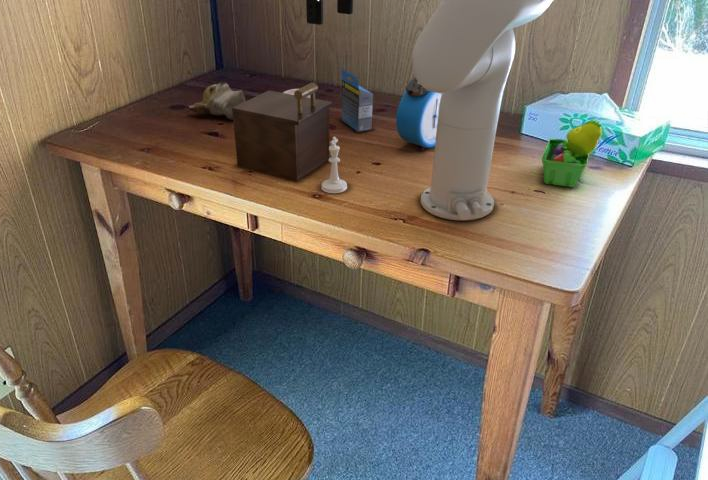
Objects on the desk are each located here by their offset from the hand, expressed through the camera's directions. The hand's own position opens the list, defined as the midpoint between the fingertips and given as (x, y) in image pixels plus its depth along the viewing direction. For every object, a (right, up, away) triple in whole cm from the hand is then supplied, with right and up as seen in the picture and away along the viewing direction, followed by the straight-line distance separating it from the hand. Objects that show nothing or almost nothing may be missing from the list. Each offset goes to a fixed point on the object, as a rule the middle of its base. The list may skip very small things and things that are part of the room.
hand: (330, 18), depth 112 cm
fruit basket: (+45, -29, +4) cm, 53 cm away
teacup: (-6, -10, +34) cm, 36 cm away
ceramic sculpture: (-25, -8, +39) cm, 47 cm away
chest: (-9, -24, +14) cm, 29 cm away
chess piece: (+1, -31, +4) cm, 31 cm away
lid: (-9, -15, +7) cm, 19 cm away
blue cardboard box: (+8, -12, +30) cm, 33 cm away
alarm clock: (+21, -19, +20) cm, 34 cm away
